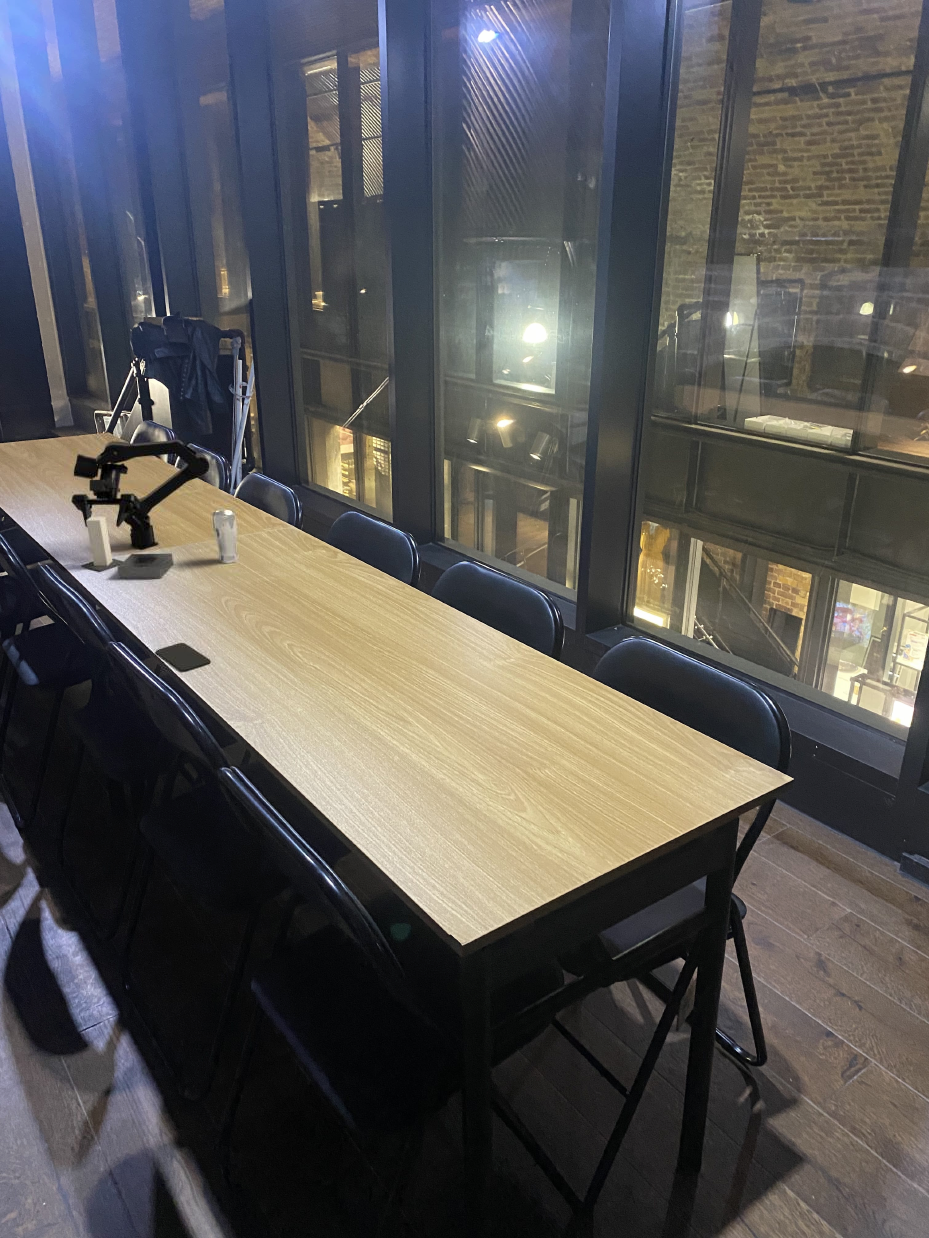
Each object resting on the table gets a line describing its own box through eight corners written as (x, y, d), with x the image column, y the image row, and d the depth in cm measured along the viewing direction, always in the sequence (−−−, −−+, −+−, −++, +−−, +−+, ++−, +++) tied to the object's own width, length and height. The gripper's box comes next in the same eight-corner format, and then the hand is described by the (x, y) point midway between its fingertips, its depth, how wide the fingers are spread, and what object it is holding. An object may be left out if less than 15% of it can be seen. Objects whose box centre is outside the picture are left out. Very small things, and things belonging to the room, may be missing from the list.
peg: (99, 561, 266) (91, 516, 260) (112, 561, 266) (104, 516, 260) (94, 565, 262) (86, 520, 257) (107, 565, 262) (99, 520, 257)
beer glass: (234, 564, 264) (228, 516, 258) (213, 563, 265) (207, 515, 259) (244, 557, 270) (239, 510, 264) (223, 555, 271) (217, 508, 265)
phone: (183, 641, 211) (212, 661, 200) (183, 644, 211) (213, 664, 200) (153, 650, 206) (182, 670, 196) (154, 653, 206) (182, 674, 196)
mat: (106, 558, 270) (106, 556, 270) (125, 563, 265) (125, 561, 265) (81, 566, 263) (80, 565, 263) (100, 571, 258) (100, 570, 258)
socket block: (133, 564, 264) (131, 553, 262) (173, 564, 264) (171, 553, 263) (119, 578, 253) (117, 567, 251) (161, 578, 253) (159, 566, 252)
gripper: (67, 468, 261) (59, 514, 256) (130, 467, 262) (123, 513, 256) (82, 487, 272) (75, 532, 266) (143, 486, 272) (136, 531, 266)
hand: (102, 526), depth 263 cm, fingers open, 9 cm apart
